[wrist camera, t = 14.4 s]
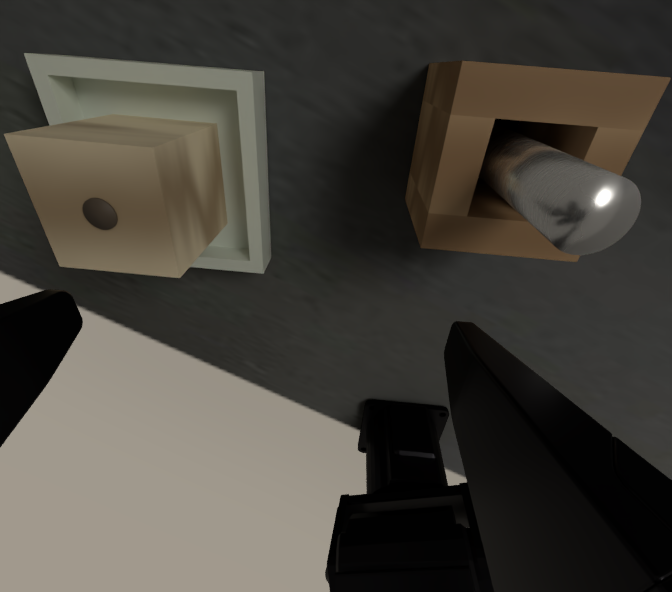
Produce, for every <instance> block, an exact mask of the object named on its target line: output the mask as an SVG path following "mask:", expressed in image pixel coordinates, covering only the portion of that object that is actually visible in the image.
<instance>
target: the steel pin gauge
mask: <svg viewBox="0 0 672 592" xmlns="http://www.w3.org/2000/svg"><path fill="white" fill-rule="evenodd" d="M479 177H480V178H482V179H483V180H484V181H485V182H486V183H487V184H488V185H489V186H490V187H491V188H492V189H493V190H495V191H496V192H497V193H498V194H499V195H500V196H501V197H502V198H503V199H504V200H505V201H506V202H508V203H509V204H510V205H511V206H512V207H513V208H514V209H515V210H516V211H517V212H518V213H519V214H520V215H522V216H523V217H524V218H525V219H526V220H527V221H528V222H529V223H530V224H531V225H532V226H533V227H535V228H536V229H537V230H538V231H539V232H540V233H541V234H542V235H543V236H544V237H545V238H546V239H548V240H549V241H550V242H551V243H552V244H553V245H554V246H555V247H556V248H557V249H559V250H560V251H562V252H564V253H567V254H571V255H587V254H592V253H595V252H598V251H601V250H603V249H605V248H607V247H609V246H611V245H613V244H614V243H615V242H617V241H618V240H619V239H621V238H622V237H623V236H624V235H625V234H626V233H627V232H628V231H629V230H630V228H631V227H632V226H633V224H634V223H635V221H636V219H637V217H638V214H639V212H640V207H641V195H640V192H639V190H638V188H637V186H636V185H635V184H634V183H633V182H632V181H630V180H628V179H627V178H624V177H622V176H620V175H617V174H615V173H612V172H610V171H608V170H605V169H603V168H600V167H598V166H596V165H593V164H591V163H588V162H586V161H584V160H581V159H579V158H576V157H574V156H572V155H569V154H567V153H564V152H562V151H560V150H557V149H555V148H552V147H550V146H548V145H545V144H543V143H540V142H538V141H536V140H533V139H531V138H528V137H526V136H524V135H521V134H519V133H516V132H514V131H512V130H509V129H507V128H504V127H502V126H500V125H497V124H495V123H494V125H493V128H492V132H491V135H490V139H489V142H488V146H487V149H486V152H485V156H484V159H483V163H482V166H481V170H480V173H479Z"/></svg>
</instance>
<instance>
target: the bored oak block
mask: <svg viewBox="0 0 672 592" xmlns="http://www.w3.org/2000/svg"><path fill="white" fill-rule="evenodd" d="M670 79H671V78H669V77H657V76H644V75H632V74H620V73H607V72H595V71H582V70H570V69H558V68H545V67H533V66H521V65H508V64H496V63H483V62H471V61H454V62H440V63H429V68H428V74H427V79H426V85H425V91H424V96H423V102H422V107H421V113H420V118H419V124H418V129H417V135H416V140H415V146H414V151H413V157H412V163H411V168H410V174H409V179H408V185H407V190H406V196H405V201H406V204H407V207H408V210H409V213H410V216H411V219H412V223H413V226H414V229H415V232H416V235H417V238H418V241H419V244H420V247H421V248H427V249H438V250H449V251H460V252H472V253H483V254H494V255H505V256H516V257H527V258H538V259H550V260H561V261H572V262H577V261H578V259H579V257H580V255H571V254H567V253H564V252H562V251H560V250H559V249H557V248H556V247H555V246H554V245H553V244H552V243H551V242H550V241H549V240H548V239H546V238H545V237H544V236H543V235H542V234H541V233H540V232H539V231H538V230H537V229H536V228H535V227H533V226H532V225H531V224H530V223H529V222H528V221H527V220H526V219H525V218H524V217H523V216H522V215H520V214H519V213H518V212H517V211H516V210H515V209H514V208H513V207H512V206H511V205H510V204H509V203H508V202H506V201H505V200H504V199H503V198H502V197H501V196H500V195H499V194H498V193H497V192H496V191H495V190H493V189H492V188H491V187H490V186H489V185H488V184H487V183H486V182H485V181H484V180H483V179H482V178H478V177H479V173H480V170H481V166H482V163H483V159H484V156H485V152H486V149H487V146H488V142H489V139H490V135H491V132H492V128H493V125H494V121H495V118H496V119H508V120H520V121H519V124H518V127H517V130H516V133H519V134H521V135H524V136H526V137H528V138H531V139H533V140H536V141H538V142H540V143H543V144H545V145H548V146H550V147H552V148H555V149H557V150H560V151H562V152H564V153H567V154H569V155H572V156H574V157H576V158H579V159H581V160H584V161H586V162H588V163H591V164H593V165H596V166H598V167H600V168H603V169H605V170H608V171H610V172H612V173H615V174H617V175H620V176H621V175H622V173H623V171H624V169H625V167H626V165H627V163H628V161H629V159H630V157H631V155H632V153H633V151H634V149H635V147H636V145H637V143H638V141H639V139H640V138H641V136H642V134H643V132H644V130H645V128H646V126H647V124H648V122H649V120H650V118H651V116H652V114H653V112H654V110H655V108H656V106H657V104H658V102H659V100H660V98H661V97H662V95H663V93H664V91H665V89H666V87H667V85H668V83H669V81H670Z"/></svg>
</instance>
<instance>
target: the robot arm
mask: <svg viewBox="0 0 672 592" xmlns="http://www.w3.org/2000/svg"><path fill="white" fill-rule="evenodd" d="M82 323H83V321H82V317H81V315H80V312H79V310H78V308H77V306H76V303H75V301H74V299H73V297H72V295H71V294H70V293H69V292H67V291H64V290H51V289H50V290H44V291H41V292H38V293H35V294H32V295H29V296H25V297H22V298H19V299H16V300H13V301H10V302H6V303H3V304H0V447H1V446H2V444H3V443H4V442H5V440H6V439H7V437H8V436H9V435H10V433H11V432H12V431H13V430H14V428H15V427H16V426H17V424H18V423H19V422H20V420H21V419H22V418H23V416H24V415H25V413H26V412H27V411H28V409H29V408H30V407H31V405H32V404H33V403H34V401H35V400H36V399H37V397H38V396H39V395H40V393H41V392H42V391H43V389H44V388H45V386H46V385H47V384H48V382H49V380H50V379H51V378H52V376H53V374H54V373H55V371H56V369H57V368H58V366H59V364H60V363H61V361H62V360H63V358H64V356H65V355H66V353H67V351H68V350H69V348H70V346H71V345H72V343H73V341H74V340H75V338H76V336H77V335H78V333H79V331H80V330H81V328H82ZM444 360H445V369H446V377H447V385H448V393H449V401H450V409H451V416H452V421H453V426H454V430H455V434H456V438H457V442H458V446H459V450H460V454H461V458H462V462H463V466H464V471H465V475H466V479H467V483H460V485H454V486H448V483H447V479H446V474H445V469H444V464H443V459H442V454H441V449H440V444H439V440H440V437H441V435H442V432H443V430H444V427H445V424H446V422H447V419H448V417H449V411H448V409H447V408H446V407H444V406H434V405H424V404H413V403H403V402H393V401H383V400H367V401H366V403H365V407H364V413H363V419H362V425H361V430H360V436H359V442H358V450H359V451H360V452H362V453H366V469H367V470H366V471H367V494H362V495H352V496H349V494H347V495H341V498H340V503H339V507H338V508H337V513H336V518H335V524H334V529H333V534H332V539H331V545H330V550H329V555H328V560H327V568H326V572H325V573H326V574H325V575H326V580H327V581H328V583H329V587H330V592H672V480H671V479H669V478H668V477H667V476H665V475H664V474H663V473H662V472H660V471H659V470H658V469H656V468H655V467H654V466H652V465H651V464H650V463H649V462H647V461H646V460H645V459H643V458H642V457H641V456H640V455H638V454H637V453H636V452H634V451H633V450H632V449H631V448H629V447H628V446H627V445H626V444H624V443H623V442H622V441H621V440H619V439H618V438H617V437H612V434H611V433H610V432H609V431H608V430H607V429H605V428H604V427H603V426H602V425H600V424H599V423H598V422H597V421H595V420H594V419H593V418H592V417H590V416H589V415H588V414H587V413H585V412H584V411H583V410H582V409H580V408H579V407H578V406H577V405H575V404H574V403H573V402H572V401H570V400H569V399H568V398H567V397H565V396H564V395H563V394H562V393H560V392H559V391H558V390H556V389H555V388H554V387H553V386H551V385H550V384H549V383H548V382H546V381H545V380H544V379H543V378H541V377H540V376H539V375H538V374H536V373H535V372H534V371H533V370H531V369H530V368H529V367H528V366H526V365H525V364H524V363H523V362H521V361H520V360H519V359H518V358H516V357H515V356H514V355H513V354H511V353H510V352H509V351H508V350H506V349H505V348H504V347H503V346H501V345H500V344H499V343H498V342H496V341H495V340H494V339H493V338H491V337H490V336H489V335H487V334H486V333H485V332H484V331H482V330H481V329H480V328H479V327H477V326H476V325H475V324H473V323H471V322H460V321H456V322H454V323H453V324H452V326H451V329H450V333H449V336H448V339H447V343H446V346H445V350H444ZM468 527H470V528H468Z"/></svg>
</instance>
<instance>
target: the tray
mask: <svg viewBox="0 0 672 592" xmlns="http://www.w3.org/2000/svg"><path fill="white" fill-rule="evenodd" d="M24 55H25V58H26V61H27V64H28V66H29V69H30V72H31V75H32V78H33V81H34V83H35V86H36V89H37V92H38V95H39V97H40V100H41V103H42V106H43V109H44V112H45V114H46V117H47V120H48V123H49V126H51V125H56V124H61V123H67V122H72V121H78V120H83V119H89V118H94V117H100V116H105V115H111V114H118V115H129V116H140V117H151V118H162V119H173V120H184V121H195V122H207V123H217V128H218V137H219V147H220V156H221V165H222V175H223V184H224V193H225V203H226V212H227V222H228V224H227V225H226V226H225V227H224V228H223V229H222V230H221V232H220V233H219V234H218V235H217V236H216V237H215V238H214V240H213V241H212V242H211V243H210V244H209V245H208V246H207V248H206V249H205V250H204V251H203V252H202V253H201V255H200V256H199V257H198V258H197V259H196V260H195V261H194V263H193V264H192V265H191V266H190V267H196V268H207V269H218V270H229V271H240V272H251V273H262V274H264V272H265V270H266V267H267V265H268V263H269V261H270V259H271V233H270V208H269V183H268V158H267V133H266V108H265V83H264V71H252V70H239V69H227V68H215V67H203V66H191V65H178V64H166V63H154V62H142V61H130V60H118V59H105V58H93V57H81V56H69V55H54V54H32V53H24Z"/></svg>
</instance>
